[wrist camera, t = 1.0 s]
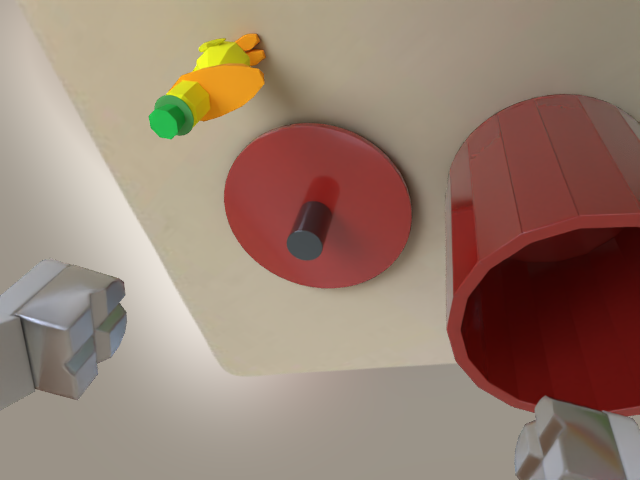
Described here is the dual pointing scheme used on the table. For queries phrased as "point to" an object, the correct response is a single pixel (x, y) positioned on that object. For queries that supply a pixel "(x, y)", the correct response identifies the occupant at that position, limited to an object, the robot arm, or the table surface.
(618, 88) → the table surface
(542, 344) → the pot
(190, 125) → the toy figure
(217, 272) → the table surface
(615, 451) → the robot arm
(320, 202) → the lid
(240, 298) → the table surface
